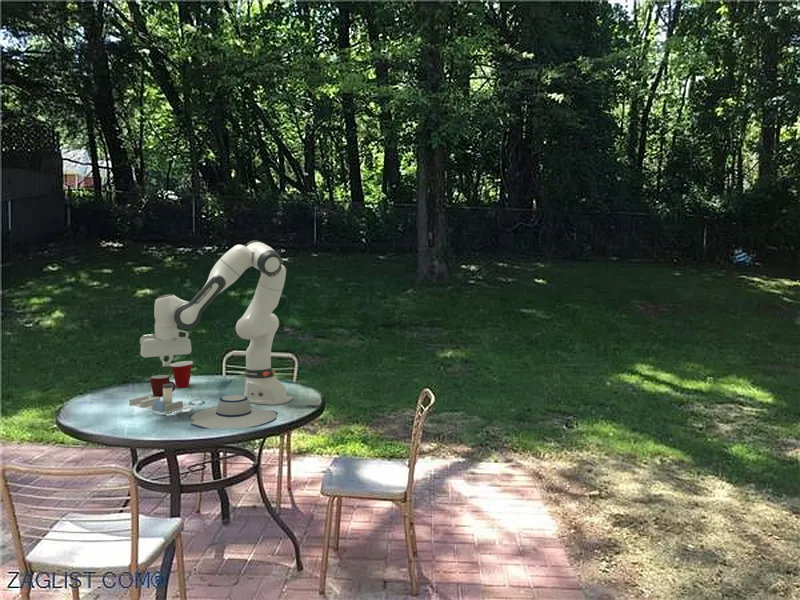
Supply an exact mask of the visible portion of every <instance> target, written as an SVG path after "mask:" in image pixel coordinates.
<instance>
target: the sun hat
mask: <svg viewBox="0 0 800 600" xmlns="http://www.w3.org/2000/svg"><path fill="white" fill-rule="evenodd" d="M277 417H278V412H277V411H275V410H270V409H259V408H255V407H253V406H251V403H249V400H248V398H247V397H246V396H244V394H243V395H242V394H228V395H223V396H222V397H220V398H219V400H218V402H217V406H213V407H209V408H205V409H201V410H198V411H195V412H193V413H191V414H190V415H189V417H188V419H191V420H193V422H192V423H190V425H191V426H194V427H197V428H200V429H210V430H211V429H230V428H231V429H243V428H244V429H245V428H246V429H249V428H257V427H261V426H265V425H268V424H270V423H273V422H274V421H276V420H277Z"/></svg>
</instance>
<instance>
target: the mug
mask: <svg viewBox="0 0 800 600" xmlns="http://www.w3.org/2000/svg"><path fill="white" fill-rule="evenodd" d="M163 384H172V393H173V392H174V391H175V390H176V384H175V382H174V381H172V380H171V381H170V375H166V374H158V375H152V376H150V386H151V387H150V388H151V391H152V395H153V397H160V398H163Z"/></svg>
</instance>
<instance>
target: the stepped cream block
mask: <svg viewBox="0 0 800 600" xmlns="http://www.w3.org/2000/svg"><path fill="white" fill-rule="evenodd" d="M149 397H150V396H149V395H147V394H145V395H142V396H138V397H132V398H130V399H129V400H128V402H129V406H132V407H138V408H142V409H148V410H154V411H158V412H167V413H165V414H169V413H172V412H175V411H178V410H181V409H182V408H183V407H184V404H183V402H184V401H182V400H178V401H175V402H172V403H170V404H167V405H164V402H163V399H161V397H156V396H153V397H150V398H149ZM169 415H170V414H169Z"/></svg>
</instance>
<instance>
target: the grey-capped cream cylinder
mask: <svg viewBox="0 0 800 600" xmlns="http://www.w3.org/2000/svg"><path fill="white" fill-rule="evenodd" d="M172 389H173V385H172V384H163V396H162V400H163V402H164V405H167V404H170V403H173V392H172Z"/></svg>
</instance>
